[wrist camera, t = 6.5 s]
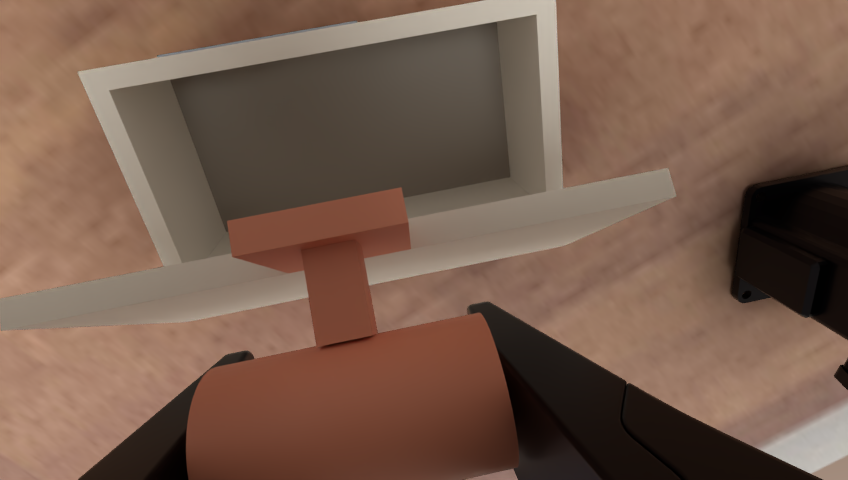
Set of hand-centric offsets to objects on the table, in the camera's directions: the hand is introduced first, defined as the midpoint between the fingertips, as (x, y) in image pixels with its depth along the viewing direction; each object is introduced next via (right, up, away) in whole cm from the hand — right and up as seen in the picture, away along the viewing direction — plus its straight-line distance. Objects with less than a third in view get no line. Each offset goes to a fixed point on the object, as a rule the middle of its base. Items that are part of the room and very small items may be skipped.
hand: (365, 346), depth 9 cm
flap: (0, +2, +2) cm, 3 cm away
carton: (-2, +7, +10) cm, 12 cm away
